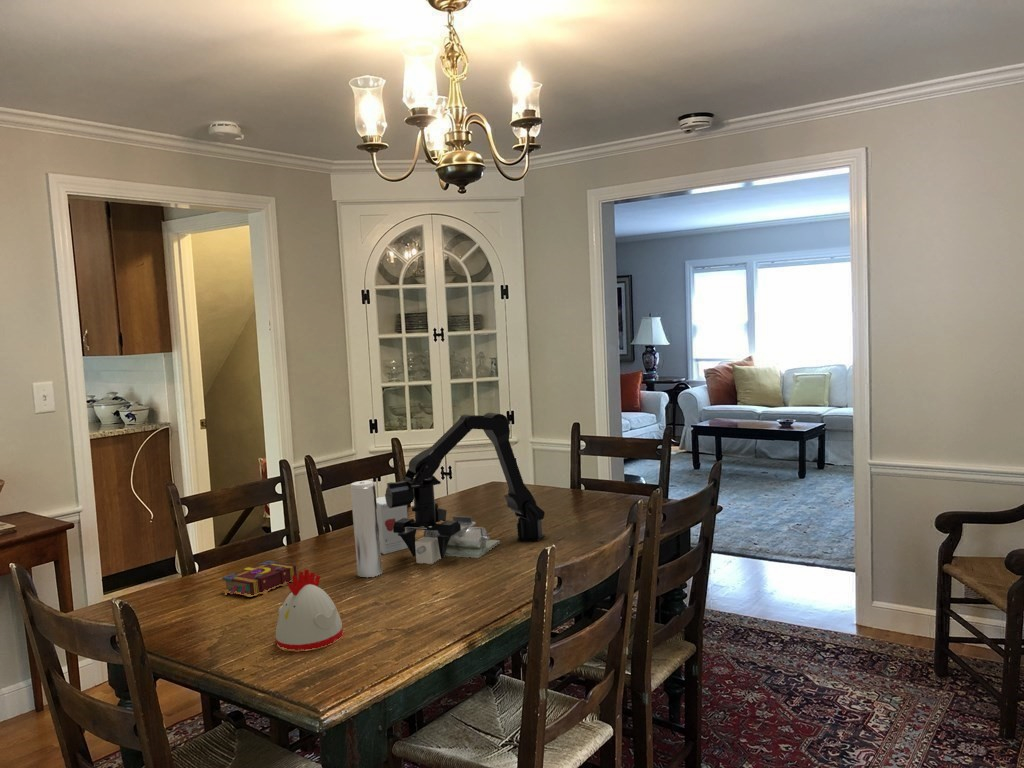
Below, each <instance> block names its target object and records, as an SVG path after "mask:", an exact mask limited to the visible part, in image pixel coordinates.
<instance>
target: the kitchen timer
mask: <svg viewBox="0 0 1024 768" xmlns="http://www.w3.org/2000/svg"><path fill="white" fill-rule="evenodd" d="M292 579H293V582H290V583H287V584H288V585H287V586H288V588H289V590H290V593H289V594H288V595H287V597H286V598H285V600H284V601H283V604H282V605H280V606H279V608H278V611H277V614H278V617H277V622H276V628H275V643H276V642H277V644H278V645H279V646H280V647H284V648H287V649H295V650H301V649H302V650H303V649H304V650H305V649H312V648H318V647H321V646H325V645H328V644H330V643H333V642H334V641H336V640H337V639H339V638H340V637H341V636H342V637H343V635H342V633H343V634H344V632H343V631H344V629H343V623H342V619H341V616H340V614H339V612H338V609H337V607H336V604H335V603H334V601H333V600H332V598H331V597H330V595H328V593H327V592H326V591H325V590H324V589H322V588H321V587H319V584H320V579H321V575H318V574H316V575H315V572H313V571H311V572H310V571H309V569H307V568H306V569H305V568H304V571H299V573H298V577H296V575H293V576H292ZM342 637H341V638H342ZM341 638H340V639H341ZM340 639H339V640H340Z"/></svg>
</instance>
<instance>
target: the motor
mask: <svg viewBox="0 0 1024 768" xmlns="http://www.w3.org/2000/svg"><path fill="white" fill-rule="evenodd" d="M452 521H458V522H459V524H460V529H461V530H460V531H459V532H457V533H456V534H454V535H452V536H451V538H450V540H449V542H448V545H447V549H446V553H445V555H446V556H445V557H455V556H456V557H458V558H469V557H471V559H472V558H473V559H474V558H475V559H480V558H481V557H482V555H483V556H484V555H486V554H487V553H488V552H490V551H491V550H493V549H495V548H496V547H497V546H499V545H500V544H501V540H497V539H491V536H489V535H488V534H487V533H488V532H487V529H486V528H485V527H482V526H475V525H476V521H473V516H463V515H462V516H459V515H454V516H452ZM443 522H444V521H442V522H441V523H443ZM431 527H432V526H431ZM423 531H424V532H423V537H434V538H437V536H439V535H440V534H439V533H438V531H434V530H423ZM498 544H499V545H498ZM495 546H496V547H495ZM492 548H493V549H492ZM489 550H490V551H489ZM486 552H487V553H486ZM479 557H480V558H479Z"/></svg>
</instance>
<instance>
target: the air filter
mask: <svg viewBox="0 0 1024 768" xmlns="http://www.w3.org/2000/svg"><path fill="white" fill-rule="evenodd" d="M376 491H377V490H376V485H375V484H374V483H373V481H371V480H361V481H360V480H359V481H354V482H352V483H350V498H351V510H352V512H351V513H352V522H353V533H354V534H353V536H354V544H355V556H356V557H355V558H356V570H357V576H358V577H359V576H360V577H367V578H366V579H369V578H368V577H372V578H376V577H379V576H381V575H382V574H383V566H382V553H381V551H380V539H379V527H378V515H377V503H376V498H377V496H376V495H377V492H376ZM380 574H381V575H380ZM378 575H379V576H378ZM375 576H376V577H375ZM360 577H359V578H360Z"/></svg>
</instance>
